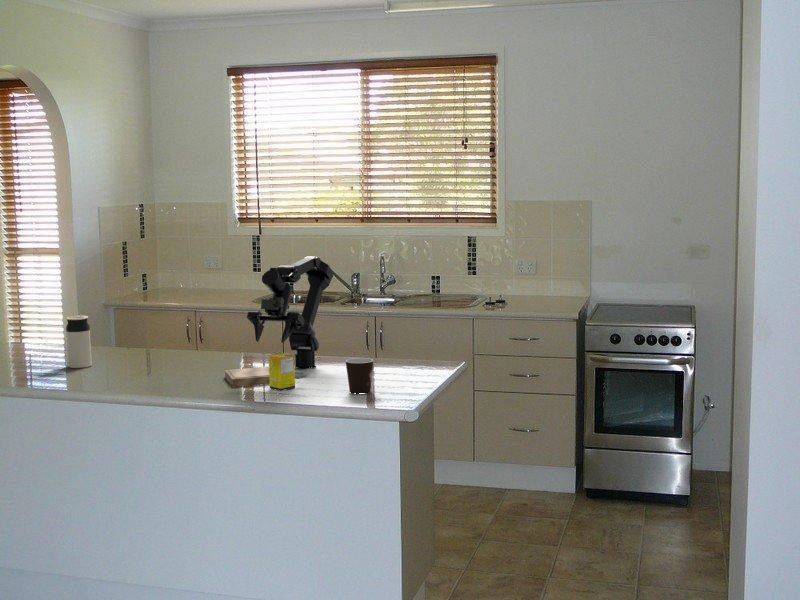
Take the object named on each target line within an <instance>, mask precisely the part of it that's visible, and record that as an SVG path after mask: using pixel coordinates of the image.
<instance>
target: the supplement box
mask: <svg viewBox="0 0 800 600" xmlns="http://www.w3.org/2000/svg"><path fill="white" fill-rule="evenodd" d="M294 354H295V353H288V352H279V353H273V354H269V355H268V367H269V378H270V384H269V389H270V388H271V389H270V390H274V389H276V390H275V391H279V390H280V391H279V392H283V391H286V390H291V389H295V388H296V379H295V372H296V371H295V366H294Z"/></svg>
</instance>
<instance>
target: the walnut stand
mask: <svg viewBox="0 0 800 600" xmlns="http://www.w3.org/2000/svg"><path fill="white" fill-rule="evenodd" d="M224 378H225V379H226V380H227V382H228V383H229V385H231V387H232V388H235V387H247V386H249V387H250V386H259V385H260V386H261V384H262V385H270V378H269V366H259V367H248V368H235V369H234V368H232V369H225V370H224Z"/></svg>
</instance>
